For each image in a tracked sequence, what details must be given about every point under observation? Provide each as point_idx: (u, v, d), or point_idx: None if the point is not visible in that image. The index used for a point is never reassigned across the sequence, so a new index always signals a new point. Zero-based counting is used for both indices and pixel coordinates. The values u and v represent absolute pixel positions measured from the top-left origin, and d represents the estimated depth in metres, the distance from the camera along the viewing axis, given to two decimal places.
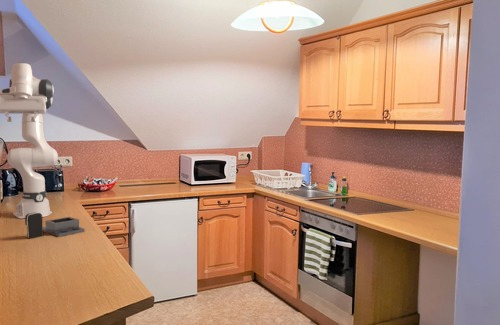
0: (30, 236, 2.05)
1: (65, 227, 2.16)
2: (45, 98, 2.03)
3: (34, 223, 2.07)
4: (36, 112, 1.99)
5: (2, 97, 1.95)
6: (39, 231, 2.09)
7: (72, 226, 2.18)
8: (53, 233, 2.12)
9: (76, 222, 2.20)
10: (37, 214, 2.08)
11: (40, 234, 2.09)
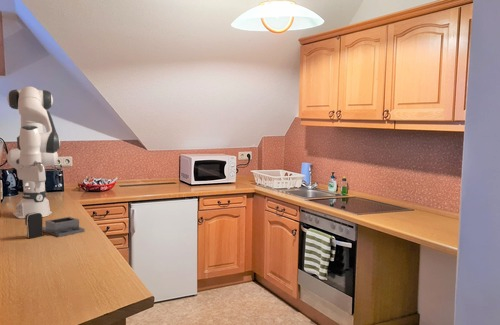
0: (30, 236, 2.05)
1: (65, 227, 2.16)
2: (40, 167, 1.99)
3: (34, 223, 2.07)
4: (35, 183, 2.01)
5: (18, 167, 2.08)
6: (39, 231, 2.09)
7: (72, 226, 2.18)
8: (53, 233, 2.12)
9: (76, 222, 2.20)
10: (37, 214, 2.08)
11: (40, 234, 2.09)
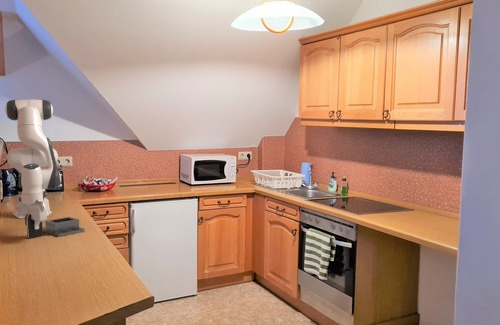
0: (30, 236, 2.05)
1: (65, 227, 2.16)
2: (42, 206, 2.01)
3: (34, 223, 2.07)
4: (35, 221, 2.05)
5: (20, 204, 2.10)
6: (39, 231, 2.09)
7: (72, 226, 2.18)
8: (53, 233, 2.12)
9: (76, 222, 2.20)
10: None
11: (40, 234, 2.09)
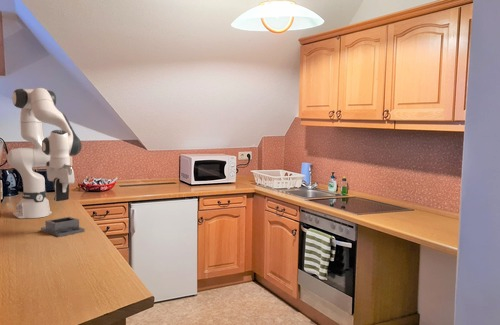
0: (57, 199, 2.15)
1: (65, 227, 2.16)
2: (70, 169, 2.10)
3: (61, 187, 2.16)
4: (63, 184, 2.14)
5: (48, 169, 2.20)
6: (66, 195, 2.18)
7: (72, 226, 2.18)
8: (53, 233, 2.12)
9: (76, 222, 2.20)
10: None
11: (66, 198, 2.19)
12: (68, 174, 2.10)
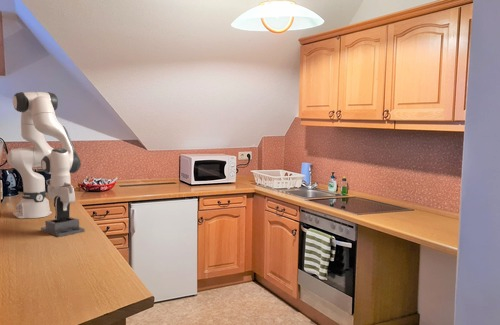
0: (58, 217, 2.16)
1: (65, 227, 2.16)
2: (70, 188, 2.11)
3: (62, 205, 2.17)
4: (63, 203, 2.15)
5: (49, 187, 2.20)
6: (66, 213, 2.19)
7: (72, 226, 2.18)
8: (53, 233, 2.12)
9: (76, 222, 2.20)
10: None
11: (67, 216, 2.20)
12: (69, 193, 2.11)
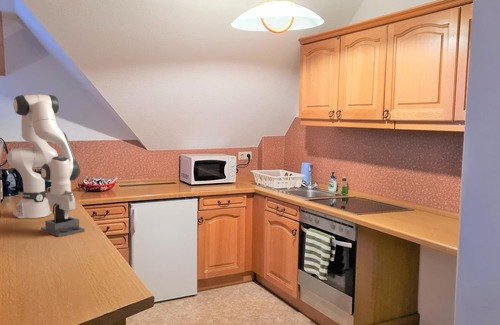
0: None
1: (65, 227, 2.16)
2: (70, 196, 2.11)
3: (61, 213, 2.18)
4: (65, 211, 2.15)
5: (49, 195, 2.21)
6: (65, 220, 2.20)
7: (72, 226, 2.18)
8: (53, 233, 2.12)
9: (76, 222, 2.20)
10: None
11: None
12: (69, 201, 2.11)
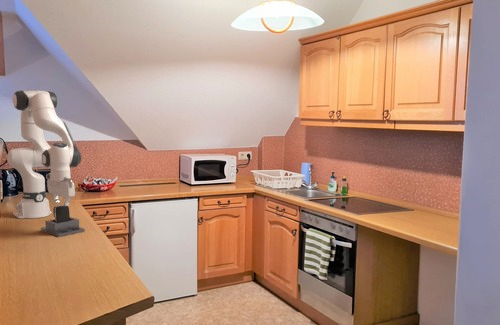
0: None
1: (65, 227, 2.16)
2: (70, 183, 2.11)
3: (62, 215, 2.16)
4: (65, 198, 2.13)
5: (49, 181, 2.20)
6: None
7: (72, 226, 2.18)
8: (53, 233, 2.12)
9: (76, 222, 2.20)
10: (64, 206, 2.17)
11: None
12: (68, 187, 2.11)
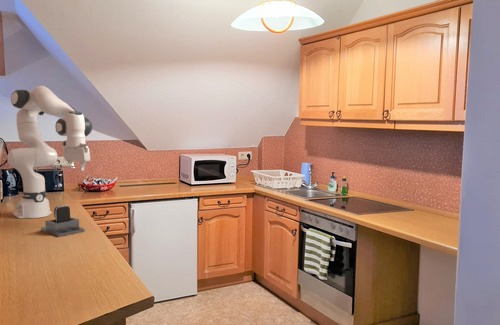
0: None
1: (65, 227, 2.16)
2: (86, 148, 2.22)
3: (62, 215, 2.16)
4: (81, 163, 2.25)
5: (65, 148, 2.32)
6: None
7: (72, 226, 2.18)
8: (53, 233, 2.12)
9: (76, 222, 2.20)
10: (65, 207, 2.17)
11: None
12: (84, 152, 2.22)
